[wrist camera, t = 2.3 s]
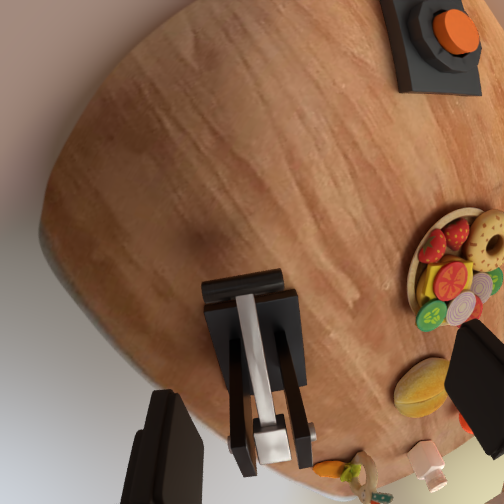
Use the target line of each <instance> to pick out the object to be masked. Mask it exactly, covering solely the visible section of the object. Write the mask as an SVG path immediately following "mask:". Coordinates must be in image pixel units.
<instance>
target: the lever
mask: <svg viewBox="0 0 504 504" xmlns="http://www.w3.org/2000/svg"><path fill="white" fill-rule="evenodd" d="M201 289H202V296H203V299H204V302H205V304H211V303H217V302H223V301H229V300H235V299H236V303H237V309H238V314H239V319H240V325H241V330H242V335H243V340H244V346H245V351H246V356H247V361H248V366H249V371H250V376H251V382H252V387H253V392H254V396H255V401H256V406H257V411H258V416H259V418H254V419H253V437H254V442H255V446H256V451H257V455H258V459H259V464H260V465H264V464H271V463H277V462H283V461H289V460H291V459H292V458H291V453H290V447H289V441H288V435H287V430H286V424H285V419H284V414H278V415H276V414H275V409H274V403H273V398H272V392H271V387H270V382H269V376H268V371H267V365H266V360H265V354H264V349H263V343H262V338H261V332H260V327H259V321H258V316H257V310H256V305H255V299H254V296H258V295H264V294H269V293H275V292H280V291H284V290H285V287H284V280H283V275H282V271H281V268H277V269H272V270H266V271H261V272H255V273H250V274H244V275H238V276H233V277H227V278H221V279H215V280H210V281H204V282H202V284H201Z"/></svg>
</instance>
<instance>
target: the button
mask: <svg viewBox="0 0 504 504" xmlns="http://www.w3.org/2000/svg"><path fill="white" fill-rule="evenodd" d="M433 32H434V35H435V37H436V39H437V41H438V42H439V44H440V45H441V46H442V47H443V48H444V49H445V50H446V51H448V52H450V53H452V54H456V55H458V54H463V53H469V52H473V51H475V50H476V49H477V47H478V45H479V35H478V31H477V28H476V26H475V25H474V23H473V21H472V20H471V19H470V18H469V17H468V16H467V15H466V14H465V13H463V12H462V11H460V10H456V9H451V10H448V11H446V12H443V13H441V14H438V15H437V16H436V17H435V18H434V20H433Z"/></svg>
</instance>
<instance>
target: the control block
mask: <svg viewBox="0 0 504 504" xmlns="http://www.w3.org/2000/svg"><path fill="white" fill-rule="evenodd" d="M380 4H381V7H382V11H383V15H384V19H385V23H386V27H387V31H388V35H389V40H390V44H391V49H392V54H393V59H394V64H395V69H396V75H397V81H398V87H399V93H418V94H442V95H458V96H482V92H481V85H480V78H479V72H478V67H477V65H478V63H479V59H480V54H481V49H482V47H481V43H480V38H479V45H478V47H477V49H476V50H475V51H473V52H469V53H463V54H458V55H456V54H452V53H450V52H448V51H446V50H445V49H444V48H443V47H442V46H441V45H440V44H439V42H438V41H437V39H436V37H435V35H434V32H433V20H434V18H435V17H436V16H437V15H438V14H441V13H443V12H446V11H448V10H451V9H456V10H460V11H462V12H463V13H465V14H466V15H467V16H468V14H467V13H466V12H465V11H464V8H463V5H462V1H461V0H380ZM468 17H469V16H468ZM477 31H478V30H477ZM478 35H479V34H478Z"/></svg>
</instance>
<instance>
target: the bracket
mask: <svg viewBox="0 0 504 504" xmlns="http://www.w3.org/2000/svg"><path fill="white" fill-rule="evenodd" d="M254 299H255V305H256V310H257V316H258V321H259V327H260V332H261V338H262V343H263V349H264V354H265V360H266V365H267V371H268V376H269V382H270V387H271V392H274V391H280V390H284V393H285V398H286V404H287V409H288V414H289V419H290V424H291V429H292V435H293V440H294V445H295V450H296V455H297V461H298V466H299V469H303V468H308V467H313V459H312V444H311V441H316V432H315V427H314V424H313V422H311V423H308V422H307V418H306V413H305V409H304V405H303V401H302V397H301V393H300V389H299V387H301V386H306V385H307V379H306V368H305V358H304V348H303V338H302V328H301V319H300V310H299V301H298V295H297V292H296V290H295V289H293V290H288V291H283V292H277V293H272V294H266V295H261V296H255V297H254ZM204 315H205V319H206V322H207V325H208V329H209V332H210V335H211V339H212V342H213V345H214V349H215V352H216V355H217V358H218V362H219V365H220V368H221V371H222V374H223V377H224V380H225V383H226V386H227V390H228V393H229V400H230V436H228V448H229V451H230V453H231V454H233V455H234V457H235V460H236V462H237V464H238V466H239V468H240V471H241V473H242V475H243V477H252V476H257V467H256V456H255V445H254V437H253V421H252V409H251V397H250V395H254V392H253V387H252V382H251V376H250V371H249V366H248V361H247V356H246V351H245V346H244V340H243V335H242V330H241V325H240V319H239V314H238V309H237V303H236V300H232V301H226V302H220V303H214V304H208V305H205V306H204Z"/></svg>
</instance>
